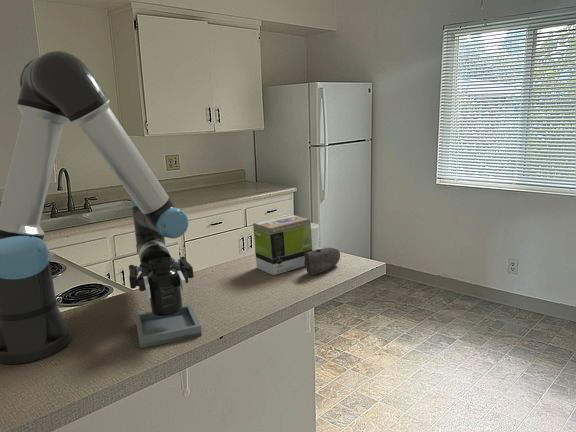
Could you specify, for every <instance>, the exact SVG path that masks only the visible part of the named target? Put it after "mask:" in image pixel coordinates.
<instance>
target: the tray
mask: <svg viewBox="0 0 576 432" xmlns="http://www.w3.org/2000/svg"><path fill="white" fill-rule="evenodd" d="M134 316H135V324H136V331H137V338H138V343H139V348H140V349H145V348H149V347H155V346H158V345H163V344H169V343H175V342H177V341H182V340H187V339H192V338H196V337H197V338H198V337H201V336H203V335H202V325H201V324H200V321H199V320H198V317H197V315H196V313H195V310H194V308H193V306H192V304H185V305H182V309H181V310H180V311H179V312H177V313H175V314H172V315H168V316H157V315H155V314H153V313H152V311H147V312H142V313H137V314H134Z"/></svg>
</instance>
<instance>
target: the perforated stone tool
mask: <svg viewBox="0 0 576 432" xmlns="http://www.w3.org/2000/svg"><path fill="white" fill-rule="evenodd" d="M304 256H305V263H304V264H305V266H304V267H306V272H307V273H308V274H310V276H313V275H317V274H322V273H324V272H326V271H328V270H330V269H332V268H334V267H335V266H336V265H337V264H339V262H340V260H341V252H340V250H339V249H338V248H337V249H336V248H334V247H322V248H318V249H317V250H314V251H310V252H307V253H305V254H304Z"/></svg>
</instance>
